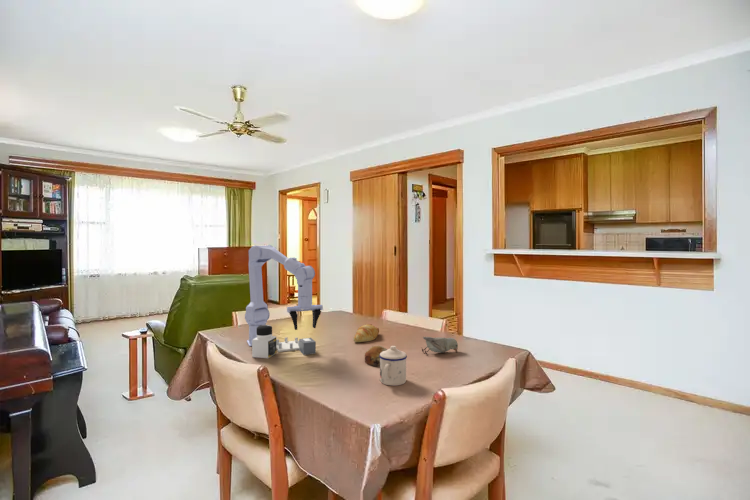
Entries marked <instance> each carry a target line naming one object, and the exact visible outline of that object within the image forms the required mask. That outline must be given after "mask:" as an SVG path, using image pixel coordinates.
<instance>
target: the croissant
mask: <svg viewBox="0 0 750 500" xmlns="http://www.w3.org/2000/svg"><path fill="white" fill-rule="evenodd" d="M379 333H380V329H379V327H376V326H375V325H373V324H371V323H368V324H366V323H365V324H363V325H361V326H359V327H358V328H357V330H356V331H355V334H354V336H353V339H352V340H353V342H354V343H363V342H370V341H374V340H375V339H377V338H378V335H379Z"/></svg>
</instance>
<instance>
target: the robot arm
mask: <svg viewBox="0 0 750 500" xmlns="http://www.w3.org/2000/svg"><path fill="white" fill-rule="evenodd" d="M270 260H274V261H276V262H278V263H280V264H282V266H283V268H284V269H285V271H287V272H289V273H291V274H292V276H293V275H294V278H295V279H296V284H297V305H292V306H287V307H286V313H288V314H289V315H290V318H291V320H292V322H293V323H292V324H293V328H294V330H295V331H298V313H297V312H308V311H309V312H311V313H312V328H313V329H316V328H317V323H318V320H319V317H320V316H321V313H322V311H323V310H324V306H323V304H313V280H314V278H315V275H316V271H315V268H314V267H313V266H312V265H306V264H305V263H304V262H300V260H298V259H297V258H296V257H287V256H286V255H285V254H283V253H282V252H280V251H279V250H277V248H276V247H275V246H273V245H271V244H268V245H267V244H266V245H256V244H254V245H252V246H251V247H250V248H249V249H248V278H249V279H248V281H249V294H250V295H249V296H250V302H249V303H248V304H247V305H246V307H245V314H244V319H245V322H246V324H247V325H248V339H247V340H246V343H247V344H248V347H252V340H253V339H255V338H257V327H258V326H260V325H267V323H268V320H269V319H270V311H269V308H268V307H269V306H268V304H267V303H266V302H265V301H264V289H263V288H264V287H263V275H262V274H263V271H262V269H263V268H262V267H263V266H264V264H265V263H267V262H269V261H270Z"/></svg>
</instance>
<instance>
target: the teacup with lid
mask: <svg viewBox="0 0 750 500" xmlns="http://www.w3.org/2000/svg"><path fill="white" fill-rule="evenodd" d="M379 357H380V366H379V381H380V383H381V384H383V385H386V386H393V387H395V386H402V385H404V384H405V383H406V381H407V358H408V356H407V353H406V352H405V351H402V350H400V349H398V348H397V346H396V345H391V346H390V347H389V348H388V349H387V350H386V351H383V352H381V353H380V355H379Z"/></svg>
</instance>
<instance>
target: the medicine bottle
mask: <svg viewBox="0 0 750 500" xmlns="http://www.w3.org/2000/svg"><path fill="white" fill-rule="evenodd" d="M276 340H277V336H275V335H273V326H271V325H270V324H266V325H260V326H258V327H257V338H255V339H253V340H252V346H251V349H252V350H251V351H252V352H251V357H252V358H257V359H270V358H271V357H273V356H274V355H276V354H277V349H276Z"/></svg>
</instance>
